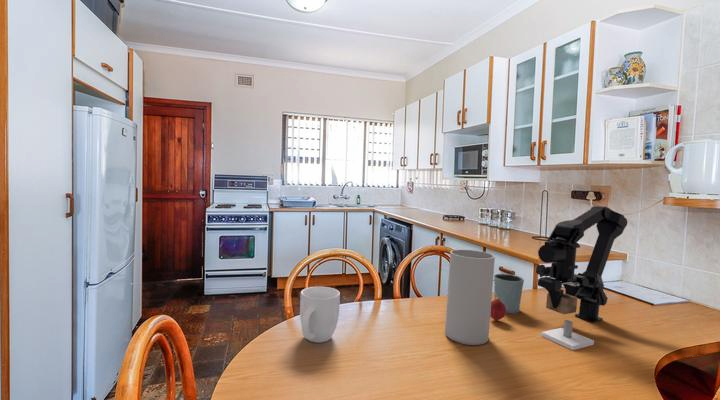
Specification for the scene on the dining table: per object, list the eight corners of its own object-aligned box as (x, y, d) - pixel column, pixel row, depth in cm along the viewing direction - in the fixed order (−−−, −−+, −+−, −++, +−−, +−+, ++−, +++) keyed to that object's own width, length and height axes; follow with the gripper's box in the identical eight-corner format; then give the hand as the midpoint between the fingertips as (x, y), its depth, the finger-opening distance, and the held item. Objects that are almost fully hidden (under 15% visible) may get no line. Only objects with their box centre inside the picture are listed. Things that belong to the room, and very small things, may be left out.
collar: (558, 305, 127) (559, 291, 127) (576, 312, 121) (577, 297, 121) (546, 307, 124) (547, 293, 124) (564, 314, 118) (565, 299, 118)
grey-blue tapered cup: (523, 308, 137) (525, 277, 136) (518, 316, 128) (521, 282, 128) (495, 302, 142) (497, 272, 142) (488, 309, 134) (491, 277, 133)
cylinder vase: (458, 324, 118) (463, 248, 116) (495, 338, 109) (502, 255, 108) (436, 335, 109) (442, 252, 108) (475, 350, 100) (481, 260, 99)
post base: (561, 331, 117) (563, 313, 117) (593, 344, 108) (595, 325, 108) (541, 335, 113) (542, 317, 112) (572, 350, 104) (574, 330, 103)
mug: (323, 356, 93) (325, 305, 92) (284, 348, 96) (286, 299, 95) (343, 333, 107) (345, 289, 106) (309, 327, 110) (311, 284, 109)
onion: (506, 325, 120) (508, 301, 119) (488, 323, 121) (490, 299, 120) (503, 318, 125) (505, 295, 125) (485, 316, 127) (487, 293, 126)
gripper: (560, 254, 133) (556, 296, 134) (525, 257, 124) (521, 302, 125) (591, 261, 123) (587, 306, 124) (555, 264, 115) (551, 313, 116)
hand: (561, 306), depth 123 cm, fingers closed on collar, 6 cm apart
